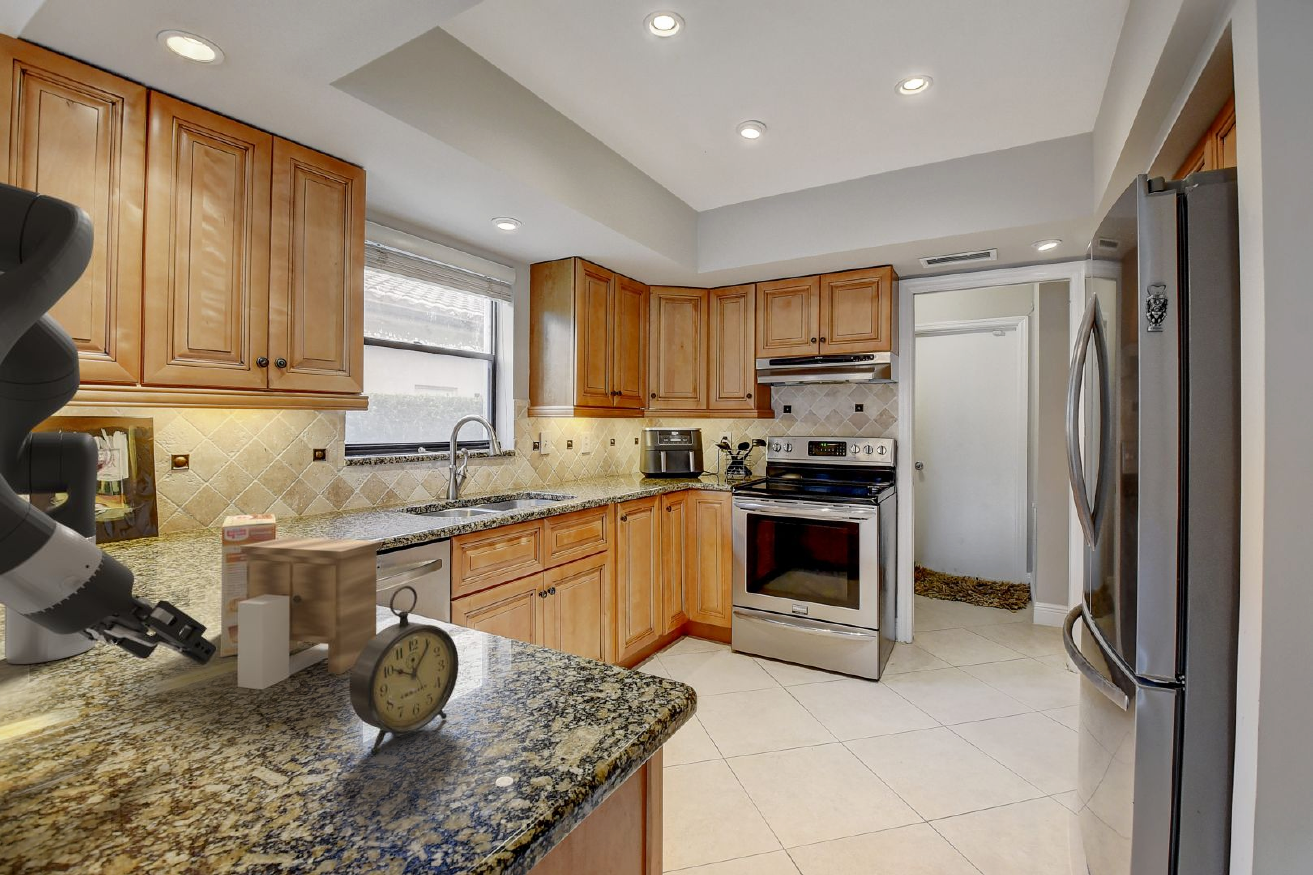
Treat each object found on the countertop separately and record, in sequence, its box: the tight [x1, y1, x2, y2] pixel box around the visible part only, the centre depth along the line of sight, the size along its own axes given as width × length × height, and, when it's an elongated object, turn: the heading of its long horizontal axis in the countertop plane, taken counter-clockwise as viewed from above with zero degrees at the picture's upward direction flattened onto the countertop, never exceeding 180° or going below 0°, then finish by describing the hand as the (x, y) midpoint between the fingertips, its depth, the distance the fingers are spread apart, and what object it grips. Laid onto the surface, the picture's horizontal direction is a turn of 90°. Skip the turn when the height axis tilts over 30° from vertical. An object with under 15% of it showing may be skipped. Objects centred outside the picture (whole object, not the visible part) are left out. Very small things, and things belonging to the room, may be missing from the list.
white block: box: [237, 594, 328, 690], centre depth 82 cm, size 4×15×11 cm, turn 167°
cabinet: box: [241, 536, 383, 675], centre depth 84 cm, size 17×8×17 cm, turn 76°
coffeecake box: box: [219, 513, 277, 658], centre depth 93 cm, size 15×7×20 cm, turn 34°
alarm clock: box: [349, 585, 460, 755], centre depth 63 cm, size 11×5×16 cm, turn 148°
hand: (179, 653), depth 66 cm, fingers open, 8 cm apart
